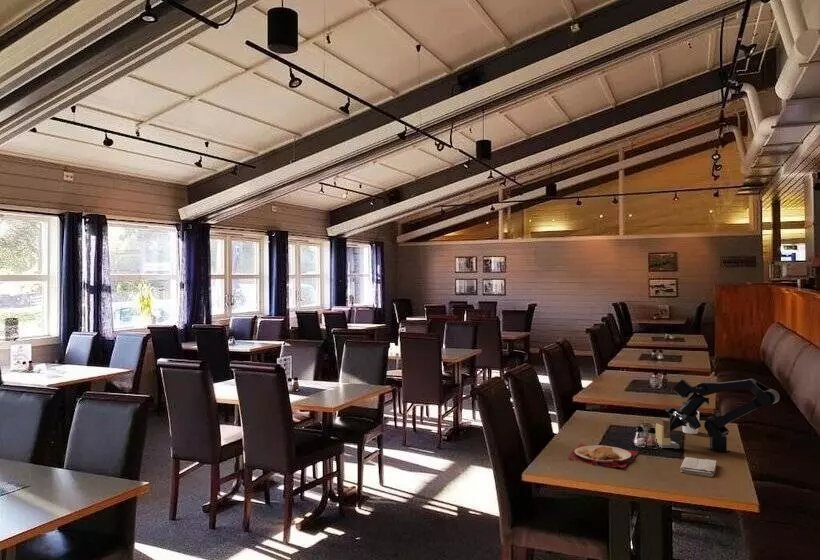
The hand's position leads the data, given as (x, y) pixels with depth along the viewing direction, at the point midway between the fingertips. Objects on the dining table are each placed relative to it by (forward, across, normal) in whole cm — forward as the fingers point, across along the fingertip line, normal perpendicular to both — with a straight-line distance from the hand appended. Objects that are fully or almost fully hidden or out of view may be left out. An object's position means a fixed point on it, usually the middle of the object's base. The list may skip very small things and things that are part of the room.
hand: (668, 431), depth 273 cm
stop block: (+5, 0, -2) cm, 5 cm away
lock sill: (+5, 0, -4) cm, 7 cm away
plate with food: (+30, -15, +21) cm, 39 cm away
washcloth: (+7, -32, -3) cm, 33 cm away
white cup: (-10, +24, -21) cm, 33 cm away
